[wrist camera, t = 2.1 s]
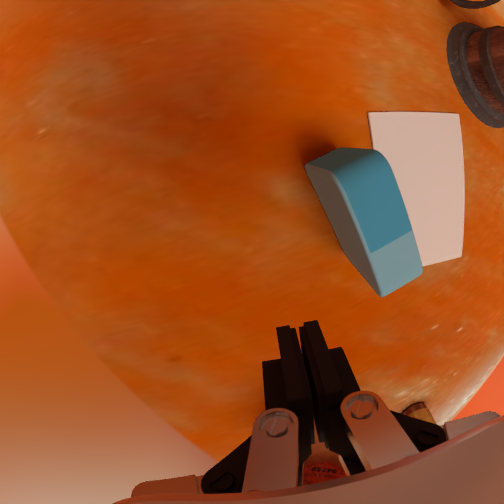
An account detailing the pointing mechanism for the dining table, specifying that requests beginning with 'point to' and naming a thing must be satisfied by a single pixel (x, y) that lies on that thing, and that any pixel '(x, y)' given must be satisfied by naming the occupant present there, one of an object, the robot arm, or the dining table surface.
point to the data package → (367, 215)
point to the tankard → (478, 66)
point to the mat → (426, 176)
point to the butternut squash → (321, 464)
